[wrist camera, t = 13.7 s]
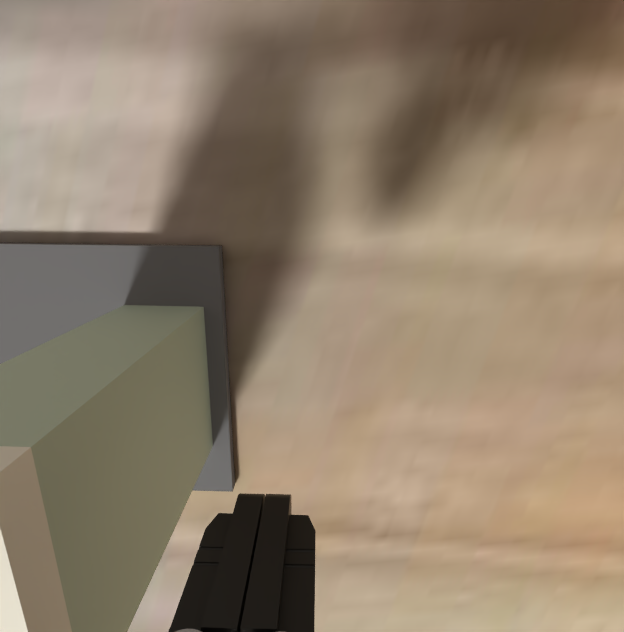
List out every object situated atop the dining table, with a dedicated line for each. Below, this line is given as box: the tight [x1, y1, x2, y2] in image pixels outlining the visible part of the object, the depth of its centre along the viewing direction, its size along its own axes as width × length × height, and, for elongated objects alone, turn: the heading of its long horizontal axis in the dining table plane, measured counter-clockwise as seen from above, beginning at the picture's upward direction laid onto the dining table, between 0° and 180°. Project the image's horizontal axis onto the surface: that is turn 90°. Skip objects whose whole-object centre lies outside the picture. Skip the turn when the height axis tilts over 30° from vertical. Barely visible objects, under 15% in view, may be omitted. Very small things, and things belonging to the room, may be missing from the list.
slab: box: [0, 305, 213, 632], centre depth 14 cm, size 4×8×12 cm, turn 179°
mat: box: [0, 243, 235, 491], centre depth 20 cm, size 18×14×1 cm
